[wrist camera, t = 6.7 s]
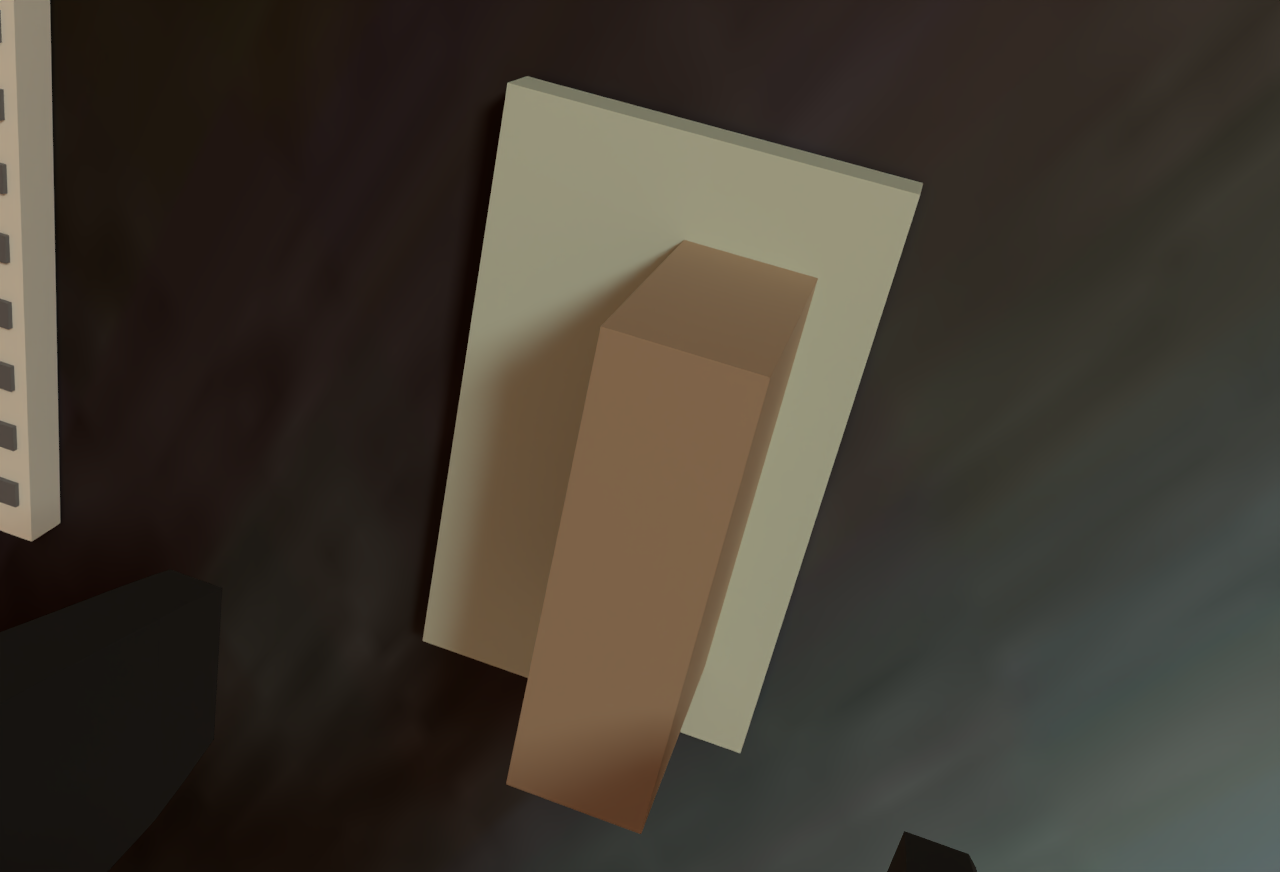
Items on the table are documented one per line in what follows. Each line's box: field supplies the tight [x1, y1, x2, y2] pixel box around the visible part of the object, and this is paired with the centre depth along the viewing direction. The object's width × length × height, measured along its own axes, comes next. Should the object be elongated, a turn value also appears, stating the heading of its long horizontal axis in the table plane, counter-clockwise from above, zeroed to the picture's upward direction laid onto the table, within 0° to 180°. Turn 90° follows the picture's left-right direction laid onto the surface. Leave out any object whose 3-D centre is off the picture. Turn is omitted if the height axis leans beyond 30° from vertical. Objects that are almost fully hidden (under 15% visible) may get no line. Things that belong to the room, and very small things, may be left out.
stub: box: [423, 76, 923, 834], centre depth 17 cm, size 10×6×5 cm, turn 168°
